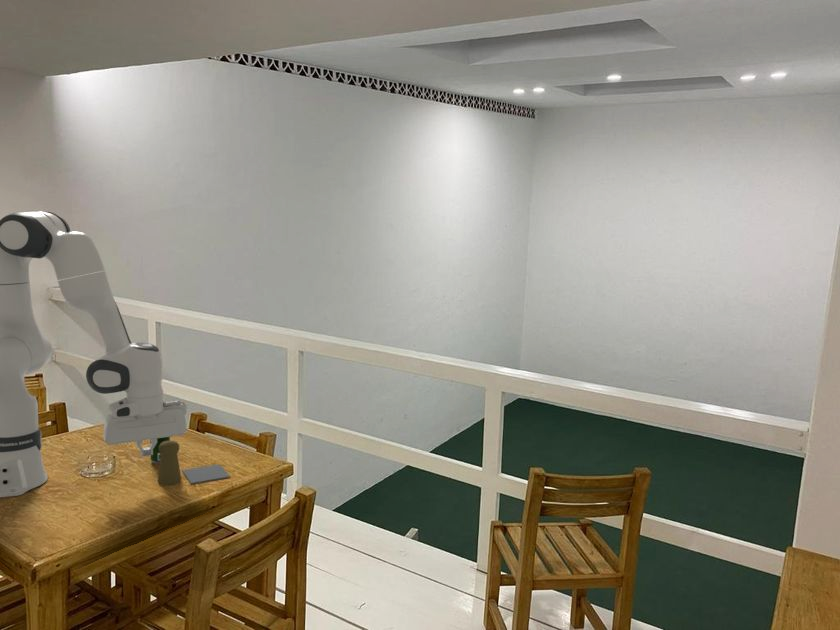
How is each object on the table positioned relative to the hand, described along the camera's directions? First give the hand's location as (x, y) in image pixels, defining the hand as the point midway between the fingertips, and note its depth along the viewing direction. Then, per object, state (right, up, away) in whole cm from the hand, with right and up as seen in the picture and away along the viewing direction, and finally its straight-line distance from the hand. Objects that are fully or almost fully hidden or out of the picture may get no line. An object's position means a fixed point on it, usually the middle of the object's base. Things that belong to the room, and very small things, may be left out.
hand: (146, 455), depth 177 cm
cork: (+4, -8, +4) cm, 10 cm away
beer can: (-3, -6, +18) cm, 19 cm away
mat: (+13, -7, +10) cm, 17 cm away
